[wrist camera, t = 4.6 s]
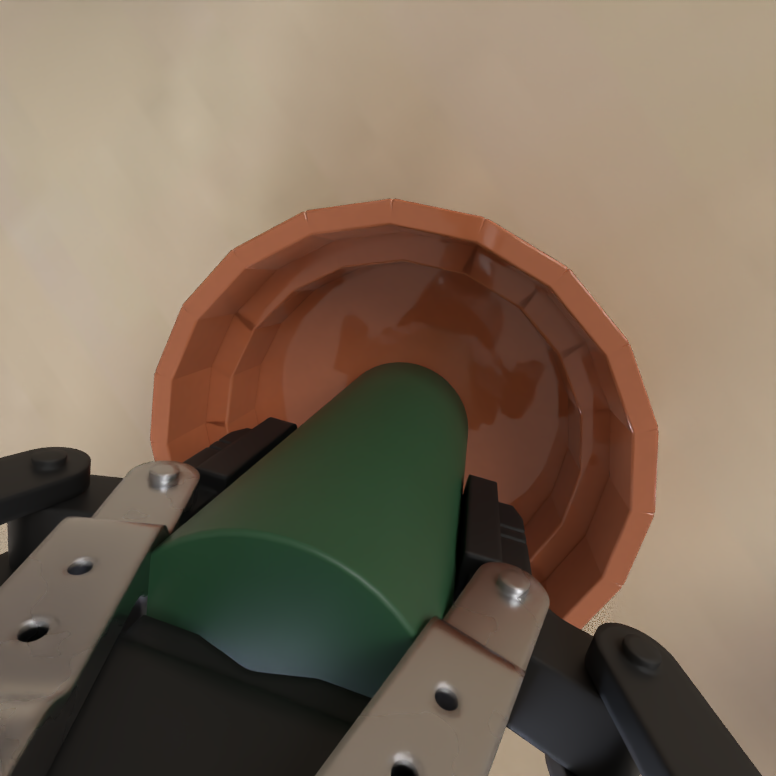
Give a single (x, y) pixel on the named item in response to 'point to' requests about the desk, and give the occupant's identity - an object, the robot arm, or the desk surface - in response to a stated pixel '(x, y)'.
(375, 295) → the bowl
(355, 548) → the green cylinder
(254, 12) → the desk surface
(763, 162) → the desk surface
